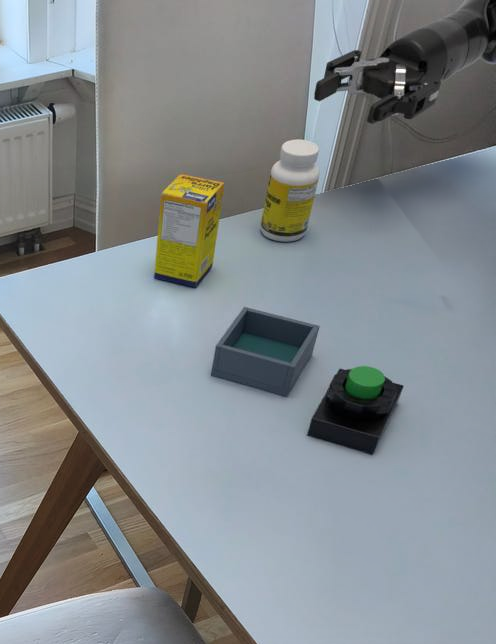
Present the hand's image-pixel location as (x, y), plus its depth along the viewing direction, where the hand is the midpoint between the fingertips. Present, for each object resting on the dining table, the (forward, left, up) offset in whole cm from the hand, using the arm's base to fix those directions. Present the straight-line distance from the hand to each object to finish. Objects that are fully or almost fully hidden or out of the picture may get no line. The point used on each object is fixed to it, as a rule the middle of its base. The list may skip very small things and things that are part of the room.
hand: (343, 103), depth 112 cm
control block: (-17, +43, -14) cm, 48 cm away
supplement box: (+11, +23, -14) cm, 29 cm away
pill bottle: (+3, +7, -14) cm, 16 cm away
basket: (-5, +38, -14) cm, 41 cm away
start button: (-17, +43, -11) cm, 47 cm away
